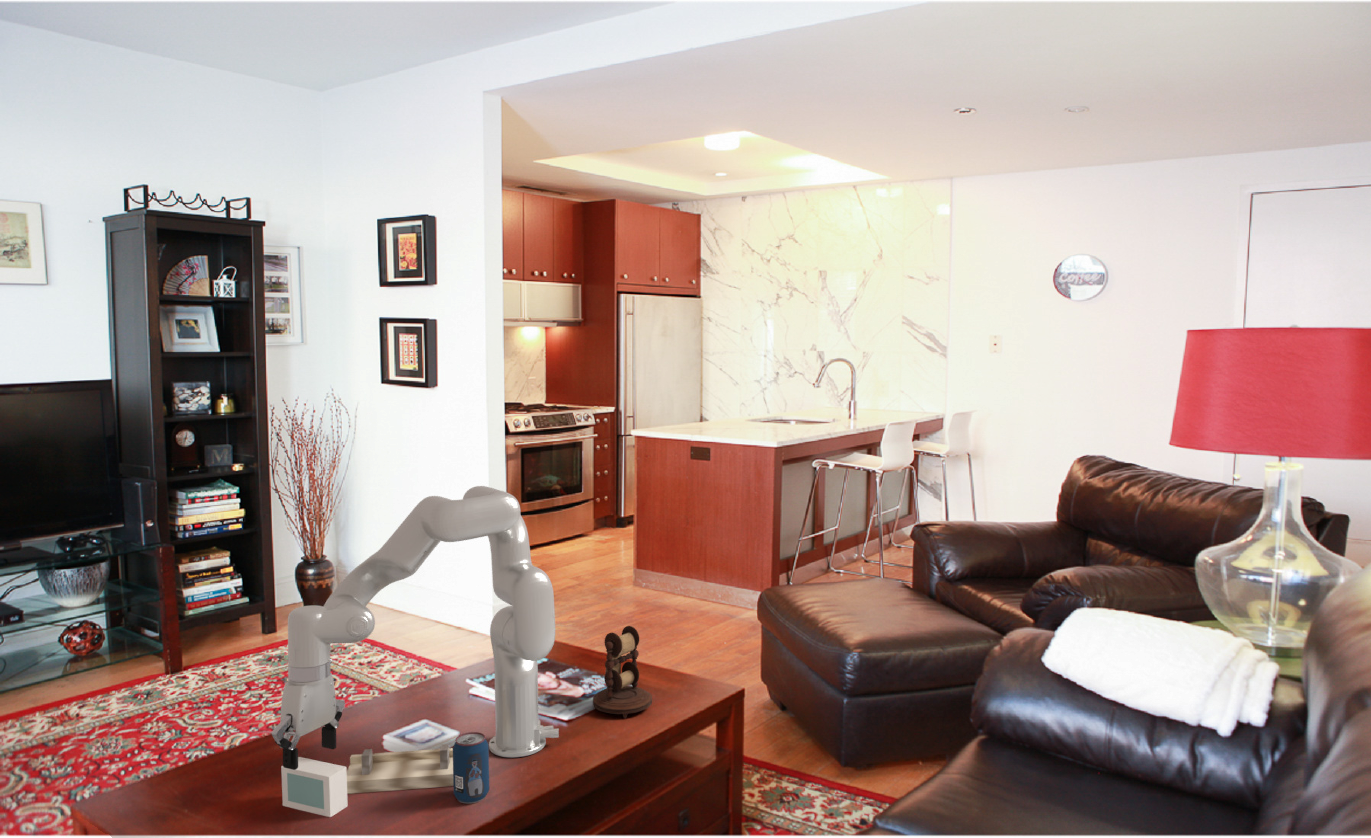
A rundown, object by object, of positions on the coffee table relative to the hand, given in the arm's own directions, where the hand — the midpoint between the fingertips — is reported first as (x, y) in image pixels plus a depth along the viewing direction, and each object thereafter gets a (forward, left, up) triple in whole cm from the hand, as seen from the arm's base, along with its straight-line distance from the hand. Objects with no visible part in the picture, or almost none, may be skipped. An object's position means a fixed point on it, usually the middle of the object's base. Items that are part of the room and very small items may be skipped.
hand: (310, 757), depth 170 cm
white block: (-1, 0, -10) cm, 10 cm away
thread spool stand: (-64, -39, -10) cm, 75 cm away
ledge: (-17, -9, -10) cm, 21 cm away
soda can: (-31, +1, -10) cm, 32 cm away
